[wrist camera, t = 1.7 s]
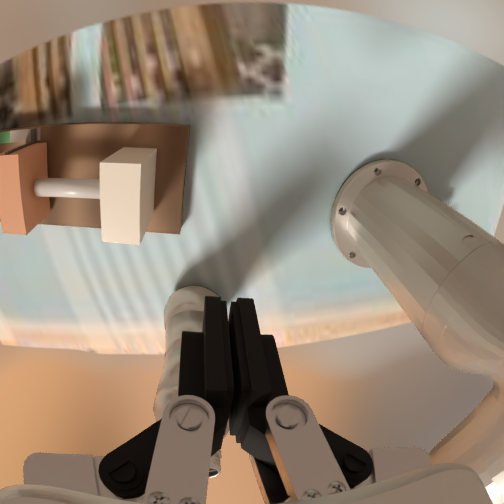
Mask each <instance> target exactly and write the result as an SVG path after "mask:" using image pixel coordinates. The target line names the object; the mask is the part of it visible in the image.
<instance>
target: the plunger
mask: <svg viewBox="0 0 504 504" xmlns="http://www.w3.org/2000/svg"><path fill="white" fill-rule="evenodd" d="M156 157H157V149H156V148H135V147H123V148H122V149H120V150H118V151H117V152H115V153H114V154H112V155H111V156H109V157H107V158H106V159H104V160H103V161H101V162H100V179H79V178H38V179H37V180H36V182H35V185H34V192H35V195H36V196H38V197H70V198H93V199H100V212H101V230H102V242H111V243H123V244H135V245H140V243H141V241H142V239H143V236H144V234H145V232H146V230H147V227H148V225H149V223H150V221H151V219H152V216H153V214H154V191H155V172H156Z"/></svg>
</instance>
